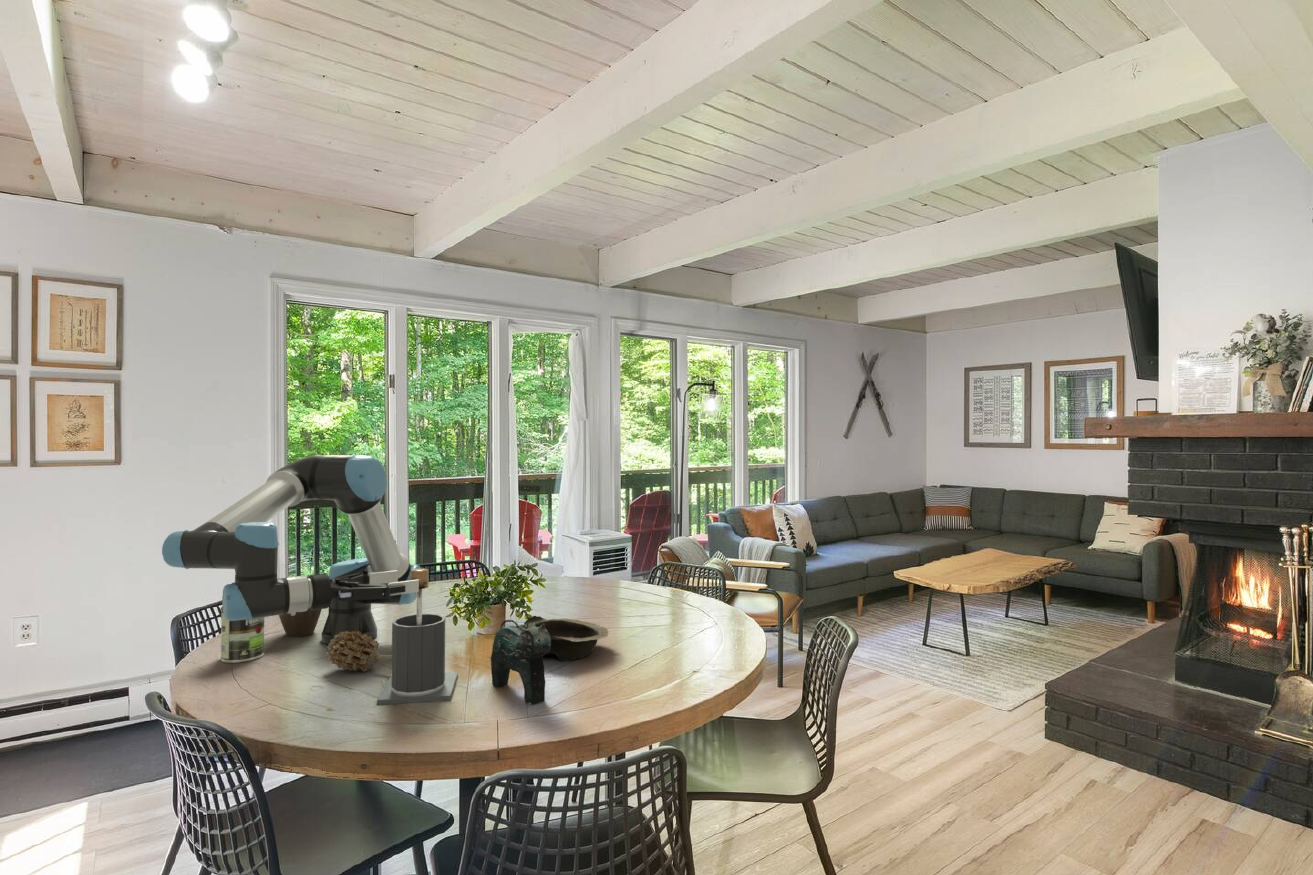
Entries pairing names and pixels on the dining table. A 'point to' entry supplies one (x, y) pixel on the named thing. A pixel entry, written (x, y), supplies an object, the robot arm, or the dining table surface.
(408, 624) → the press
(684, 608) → the dining table surface
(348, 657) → the pine cone
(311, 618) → the plant pot
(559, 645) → the stone bowl
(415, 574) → the plunger
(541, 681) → the dark animal figurine
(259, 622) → the coffee can
